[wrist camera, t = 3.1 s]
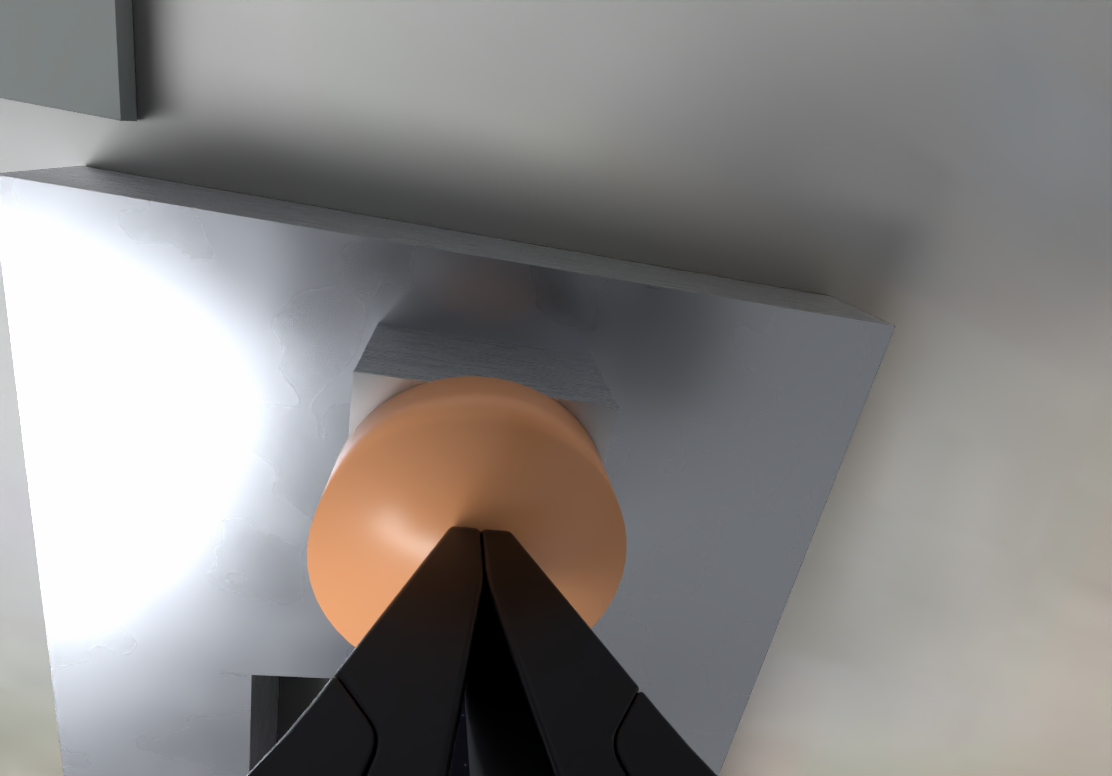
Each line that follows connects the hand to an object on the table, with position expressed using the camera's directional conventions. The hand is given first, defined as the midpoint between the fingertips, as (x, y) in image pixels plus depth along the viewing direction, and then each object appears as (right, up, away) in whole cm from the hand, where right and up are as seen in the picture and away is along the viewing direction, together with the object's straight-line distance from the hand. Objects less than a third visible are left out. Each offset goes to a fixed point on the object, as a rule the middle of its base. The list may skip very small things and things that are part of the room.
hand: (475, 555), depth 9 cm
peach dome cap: (0, +1, +2) cm, 3 cm away
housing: (-2, -4, +8) cm, 9 cm away
